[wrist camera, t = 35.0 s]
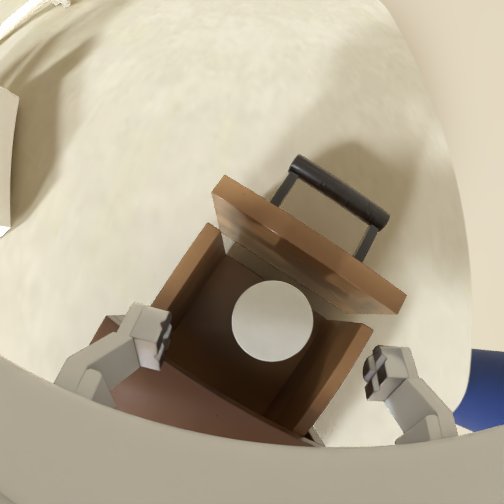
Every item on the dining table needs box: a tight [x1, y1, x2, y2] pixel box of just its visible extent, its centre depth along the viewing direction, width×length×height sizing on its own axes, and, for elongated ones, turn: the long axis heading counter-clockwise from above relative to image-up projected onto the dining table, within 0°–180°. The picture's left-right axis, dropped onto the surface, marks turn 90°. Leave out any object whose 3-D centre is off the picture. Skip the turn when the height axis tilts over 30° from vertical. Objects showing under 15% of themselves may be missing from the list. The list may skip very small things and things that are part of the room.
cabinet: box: [89, 315, 326, 447], centre depth 15 cm, size 15×13×10 cm
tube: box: [232, 281, 313, 362], centre depth 16 cm, size 3×3×9 cm
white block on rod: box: [0, 0, 71, 40], centre depth 26 cm, size 9×9×32 cm
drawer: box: [150, 154, 407, 437], centre depth 17 cm, size 18×11×8 cm, turn 147°
